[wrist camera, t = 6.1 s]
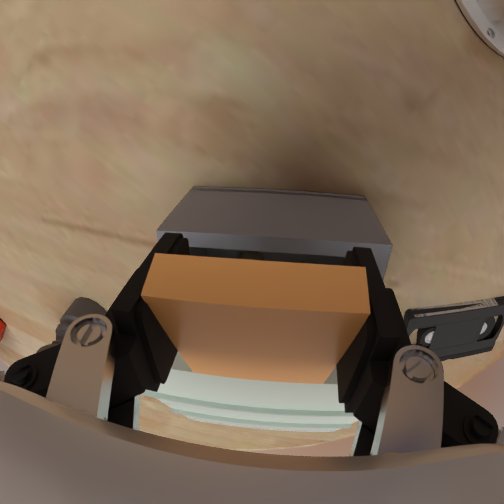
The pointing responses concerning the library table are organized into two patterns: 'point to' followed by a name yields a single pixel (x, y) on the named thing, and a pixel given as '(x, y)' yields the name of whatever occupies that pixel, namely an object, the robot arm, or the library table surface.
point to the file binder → (2, 329)
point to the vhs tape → (457, 327)
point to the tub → (277, 225)
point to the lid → (256, 339)
